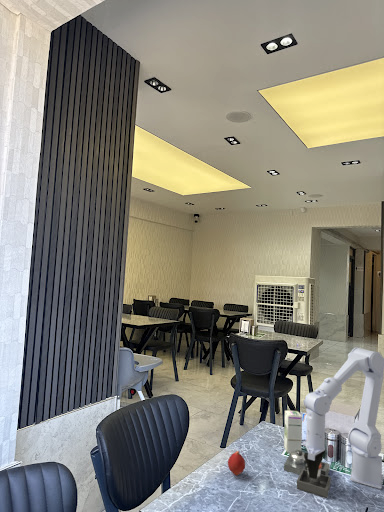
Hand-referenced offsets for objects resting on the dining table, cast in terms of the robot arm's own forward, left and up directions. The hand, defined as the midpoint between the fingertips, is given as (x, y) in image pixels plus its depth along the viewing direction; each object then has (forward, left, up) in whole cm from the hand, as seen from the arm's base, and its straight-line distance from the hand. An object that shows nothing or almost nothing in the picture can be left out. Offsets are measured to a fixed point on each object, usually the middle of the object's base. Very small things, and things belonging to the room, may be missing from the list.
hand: (314, 474), depth 117 cm
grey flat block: (+4, -10, -4) cm, 11 cm away
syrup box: (+12, -23, -4) cm, 26 cm away
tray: (0, 0, -4) cm, 4 cm away
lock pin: (0, 0, -2) cm, 3 cm away
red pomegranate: (+24, +8, -4) cm, 26 cm away
